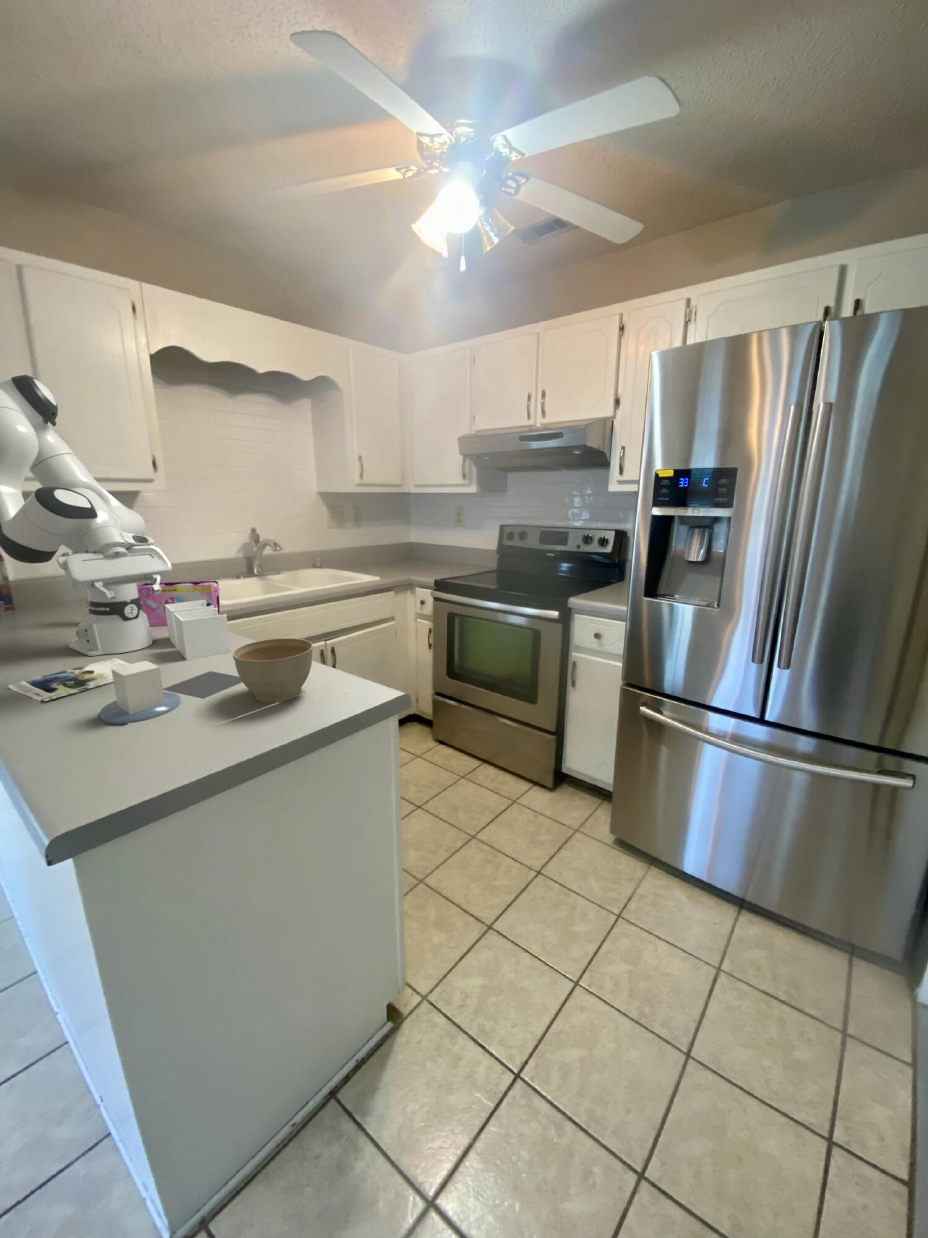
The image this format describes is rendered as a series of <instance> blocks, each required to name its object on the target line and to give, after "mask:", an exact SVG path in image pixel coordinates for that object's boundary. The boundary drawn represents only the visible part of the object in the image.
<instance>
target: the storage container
mask: <svg viewBox="0 0 928 1238" xmlns="http://www.w3.org/2000/svg"><path fill="white" fill-rule="evenodd" d="M165 611H166V618H167V625H168V626H167V632H168V637H169V641H170V642H171V643H172V644H173V645H174V647H175V648H177V649H178V651H179V652H180V654H181V655H182V656H183V657H184V659H185V660H186V661H192V660H196V659H203V658H208V657H213V656H219V655H220V656H221V655H225V654H230V653H232V649H231V648H232V647H231V643H230V641H231V640H230V633H229V623H228V616H227V614H226V613H224V614H220V615H219V616H218V609H217V608H214V606H213V605H211V606H207V607H206V600H200V601H191V602H182V603H174V604H165Z"/></svg>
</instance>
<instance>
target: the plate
mask: <svg viewBox="0 0 928 1238" xmlns="http://www.w3.org/2000/svg"><path fill="white" fill-rule="evenodd" d="M163 694H164V701H165V704H163V705H159V706H156V707H153V708H149V709H146V710H143V711H139V712H136V713H132V714H129V713H128V712H126V711H125V710H123V709H122V708H120V707H119V706H118V704H117V699H116V700H114V701H112V702H110V703H108V704H106V705H105V706H104V707H102V708H101V709H100V711H99V717H100V720H101V721H102V722H103V723H105V724H108V725H115V726H116V725H119V726H120V725H121V726H122V725H124V726H125V725H128V724H130V723H136V722H142V721H146V720H150V719H154V718H158V717H161V716H163V715H166V714H168V713H171V712H172V711H174V710H175V709H177V708H178V707H179V706H180V705H181V702H182V701H181V696H180V695H178V693H175V692H171V691H163Z"/></svg>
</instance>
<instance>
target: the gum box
mask: <svg viewBox="0 0 928 1238" xmlns="http://www.w3.org/2000/svg"><path fill="white" fill-rule="evenodd" d="M144 583H145V584H144ZM144 583H142V584H140V585H137V589H138V596H140V598H141V601H142V609H141V610H142V612H144V613H145V614H146V616H147V620H148V623H149V627H150V628H151V627H168V625H167V618H166V611H165V604H174V603H182V602H191V601H200V600H206V607H207V606H211V605H213V606H214V608H217V609H218V616H219V615H221V609H220V607H221V606H220V605H221V604H220V587H219V586H220V585H219V582H218V581H217V580H199V581H197V580H196V581H195V580H194V581H171V582H168V581H167V582H166V581H165V582H160V583H159V585H160V587H161V589H162V592H161V594H157V595H153V593H152V592H151V588H152V585H155V583H154V584H152V583H151V582H144Z"/></svg>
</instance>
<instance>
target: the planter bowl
mask: <svg viewBox="0 0 928 1238" xmlns="http://www.w3.org/2000/svg"><path fill="white" fill-rule="evenodd" d="M313 646H314V645H313V643H312V642H311V641H310V640H307V639H302V638H294V637H283V638H282V637H277V638H269V639H263V640H262V639H261V640H258V641H257V640H256V641H253V642H249V643H247V644H244V645H241V646H239V647H237V648H236V649H235V650H233V652H232V658H233V660H234V664H235V668H236V671H237V674H238V676H239V677H240V678H241V680H242V683H243V685H244V687H246V688H247V689H248V691H250V692H251V693H252V694H253V695H254V698H255V700H257V701H258V702H262V703H281V702H283V703H284V702H287V701H290V700H292V699H295V698H297V697H298V696H300V694H301V693H302V687H303V686H304V684H305V683H306V681H307V679H308V677H309V675H310V672H311V669H312V663H313V649H314V647H313Z"/></svg>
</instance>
